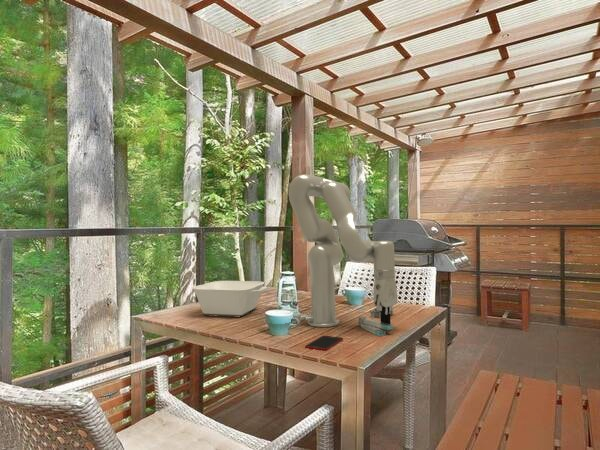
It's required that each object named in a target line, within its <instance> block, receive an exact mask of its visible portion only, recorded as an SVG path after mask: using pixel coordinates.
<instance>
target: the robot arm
mask: <svg viewBox="0 0 600 450" xmlns="http://www.w3.org/2000/svg"><path fill="white" fill-rule="evenodd" d="M310 197H313V198H315V197H316V198H319V199H323V201H324V202H325V204H326V207H327V208H328V210H329V211H330V213H331V215H332V218H333V219H334V222H335V223H336V229H337V232H336V230H335V228H334V226H333V225H332V223H330V221H329V220H327V219H324V218H320V216H319V215H318V212H317V209H316V207H315V204H314V203H313V202H312V201H311V198H310ZM350 197H351V191H350V188H349V186H348V185H347V184H346V183H343V182H339V181H335V180H331V179H328V178H324V177H323V176H322V177H321V176H318V175H314V174H313V175H312V174H305V173H304V174H298V175H297V176H295V177H294V178H293V179H292V181H291V182H290V185H289V188H288V200H289V203H290V205H291V208H292V209H293V213H294V215H295V218H296V221H297V224H298V227H299V228H300V231H301V234H302V236H303V239H304V240H305V241H306V242H309V243H316V244H315V245H313V246H312V247H311V248H310V249H309V251H308V255H307V261H308V266H309V277H310V306H311V308H310V309H311V310H310V311H308V313H307V314H299V320H300V321H304V320H305V322H306V321H307V324H308V325H309V326H311V327H315V328H316V327H318V328H328V327H335V326H338V325H340V319H339V318H336V284H335V283H336V282H335V281H336V280H335V279H336V278H335V273H334V272H335V271H334V269H333V267H334V266H336V265H338V264H340V263H341V262H342V260H343V257H344V256H343V249H344V250H345V252H346V254H347V256H348V257H349V258H350V259H351V260H353V262H358V263H359V262H364V261H369V260H373V279H374V283H373V305H374V306H375V308H376V307H377V308H376V310H378V311H379V312H380V317H381V318H380V322H384V323H388V324H392V323H391V315H390V313H391V308H392V309H393V308H394V306H395V305H397V304H398V288H397V281H396V266H395V264H396V263H395V262H396V261H395V244H394V242H393V241H391V240H377V241H375V240H374V241H373V240H369V239H367V240H366V239H365V240H363V239H362V238H361V237H360V235H359V232H358V230H357V228H356V222H355V221H356V217H357V212H356V210H355V208H354V206H353V205H352V203H351V201H350ZM337 234H338V235H337ZM339 240H340V241H339ZM340 242H341V243H340ZM341 245H342V246H341ZM342 247H343V248H342Z"/></svg>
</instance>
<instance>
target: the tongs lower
mask: <svg viewBox="0 0 600 450" xmlns="http://www.w3.org/2000/svg"><path fill="white" fill-rule="evenodd" d="M363 319H367V318H366V317H365V316H359V317H358V327H359V328H362V329H364V330H366V331H368V332H370V333H372V334H374V335H375V336H377V337H383V336H384V337H385V336H386V331H385V329H382V328H379V327H376V326H372V325H369V324H365V323H364V322H363Z"/></svg>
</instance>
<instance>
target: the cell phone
mask: <svg viewBox="0 0 600 450" xmlns="http://www.w3.org/2000/svg"><path fill="white" fill-rule="evenodd" d="M343 340H344V338H343V337H339V336H331V335H321V336H319V337H318V338H316V339H314V340H312V341H311V342H310V343H307V344H306V345H305V346H304V348H305V349H306V348H309V349H308V350H313V349H315V350H314V351H321V350H322V351H321V352H327V351H329V350H330V349H332V348H333V347H335V346H336V345H338V344H339V343H341V342H343Z"/></svg>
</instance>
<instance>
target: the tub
mask: <svg viewBox="0 0 600 450" xmlns="http://www.w3.org/2000/svg"><path fill="white" fill-rule="evenodd" d="M264 285H265V282H264V281H257V280H215V281H210V282H207V283H204V284H199V285H195V286H193V288H192V291H194V293H195V295H196V299H197V301H198V304H199V306H200V308H201V311H202V312H201V313H202V314H203V316H205V315H218V316H242V317H243V315H244V316H245V314H246V315H247V314H249V313H251V312H253V311H254V309H255V310H256V309H257V305H258V303H259V300H260V297H261V294H262V293H263V292H265V291H267V290H268V287H267V286H264ZM252 310H253V311H252ZM250 311H251V312H250Z"/></svg>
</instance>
